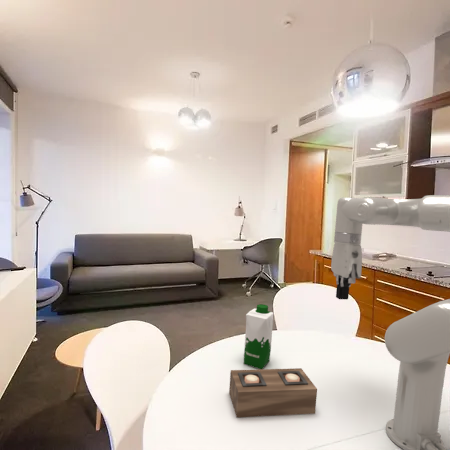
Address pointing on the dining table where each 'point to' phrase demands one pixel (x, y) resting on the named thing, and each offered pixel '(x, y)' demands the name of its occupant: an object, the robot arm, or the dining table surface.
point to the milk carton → (258, 336)
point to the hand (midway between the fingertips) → (341, 298)
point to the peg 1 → (251, 379)
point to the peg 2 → (292, 378)
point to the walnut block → (272, 393)
